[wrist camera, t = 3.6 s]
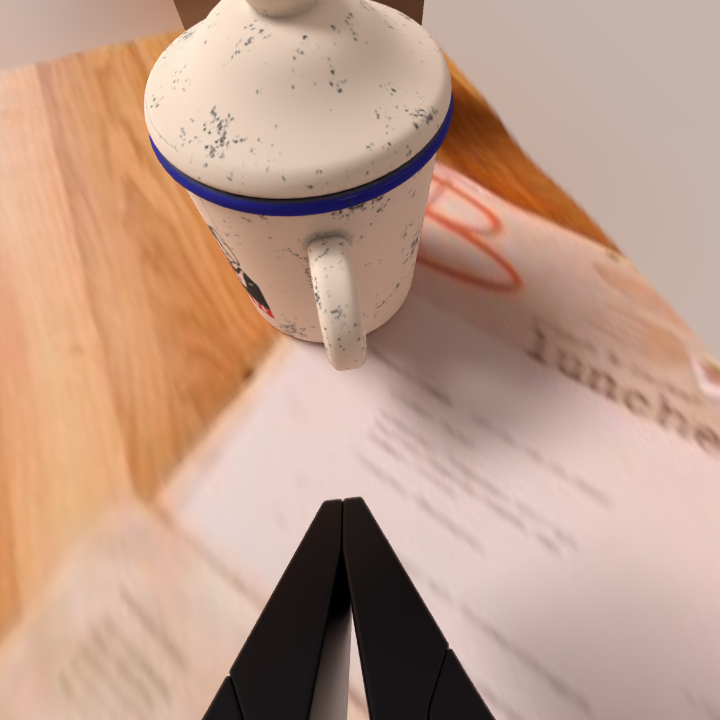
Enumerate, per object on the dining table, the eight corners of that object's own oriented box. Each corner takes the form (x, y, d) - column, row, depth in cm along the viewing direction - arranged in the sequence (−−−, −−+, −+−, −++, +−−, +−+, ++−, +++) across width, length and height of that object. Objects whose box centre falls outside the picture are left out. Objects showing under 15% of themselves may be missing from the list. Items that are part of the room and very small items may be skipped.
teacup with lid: (241, 222, 20) (84, -118, 9) (395, 197, 20) (424, -156, 9) (254, 426, 15) (-39, 234, 4) (454, 388, 15) (648, 125, 5)
